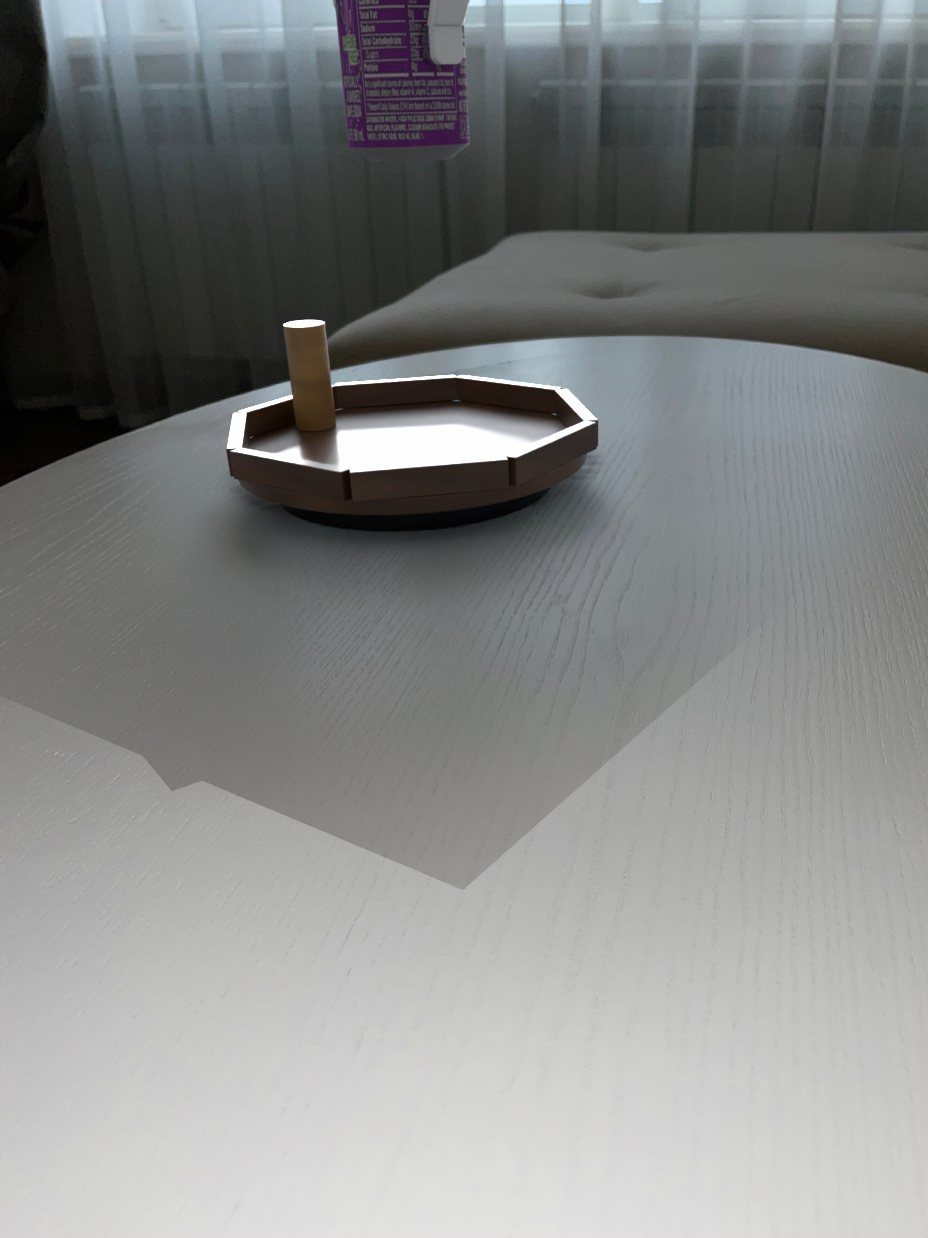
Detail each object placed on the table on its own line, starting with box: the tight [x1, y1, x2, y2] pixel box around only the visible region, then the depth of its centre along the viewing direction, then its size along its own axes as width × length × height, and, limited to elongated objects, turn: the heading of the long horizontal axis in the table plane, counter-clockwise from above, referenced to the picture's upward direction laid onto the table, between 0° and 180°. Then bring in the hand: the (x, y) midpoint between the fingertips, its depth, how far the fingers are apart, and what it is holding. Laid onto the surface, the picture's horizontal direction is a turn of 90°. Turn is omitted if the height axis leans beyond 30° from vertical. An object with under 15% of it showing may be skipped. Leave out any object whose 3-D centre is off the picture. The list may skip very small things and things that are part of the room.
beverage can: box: [334, 0, 471, 164], centre depth 62 cm, size 7×7×12 cm
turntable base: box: [278, 487, 552, 533], centre depth 64 cm, size 16×16×2 cm
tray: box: [225, 319, 599, 515], centre depth 62 cm, size 20×20×7 cm
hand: (404, 68), depth 62 cm, fingers closed on beverage can, 7 cm apart
